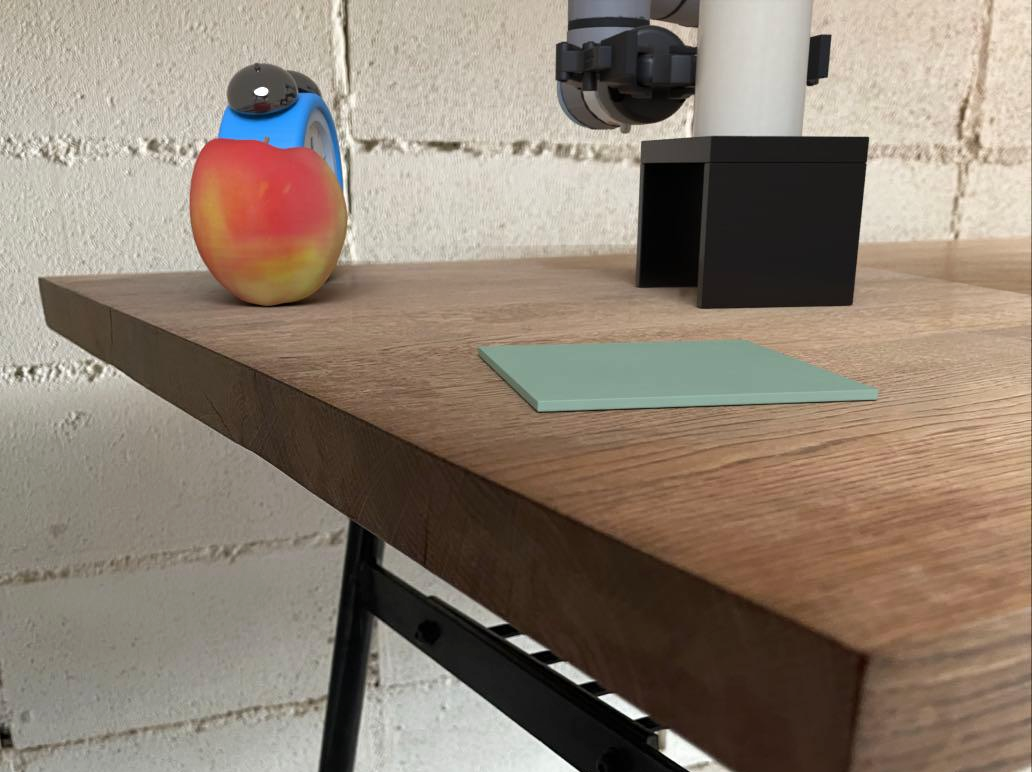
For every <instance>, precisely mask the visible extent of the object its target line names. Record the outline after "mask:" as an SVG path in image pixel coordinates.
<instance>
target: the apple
mask: <svg viewBox="0 0 1032 772" xmlns="http://www.w3.org/2000/svg"><path fill="white" fill-rule="evenodd" d="M269 139H270V138H269V137H266V136H265V139H264V142H262V141H258V140H236V139H227V138H218V137H217V138H213V139H210V140H209V141H207V143H205V144H204V145H203V147H202V148H201V150H200V151H199V153H198V155H197V158H196V160H195V163H194V166H193V170H192V175H191V179H190V187H189V203H188V204H189V206H188V207H189V208H188V209H189V220H190V227H191V233H192V236H193V241H194V244H195V247H196V249H197V252H198V254H199V256H200V258H201V260H202V262H203V264H204V265H205V267H206V269H208V271H209V272H210V274H211V275H212V276H213V278H214V279H215V280H216V281H217V282H218V283H219V284H220V285H221V286H222V287H223V288H224V289H225V290H226V291H228V292H229V293H230V294H231V295H233V296H234V297H236V298H238V299H239V300H241V301H244V302H246V303H249V304H253V305H259V306H264V307H271V306H276V305H282V304H288V303H289V304H290V303H295V302H298V301H302V300H304V299H306V298H308V297H309V296H311V295H313V294H314V293H315V292H317V291H318V290H319V289H320V288H321V287H323V285H324V284H325V283H326V281H327V280H328V279H329V277H330V276H331V275H332V273H333V271H334V269H335V267H336V265H337V264H338V261H339V258H340V256H341V253H342V251H343V248H344V245H345V241H346V237H347V231H348V217H349V216H348V208H347V202H346V198H345V195H344V191H343V192H342V189H341V186H340V184H339V182H338V180H337V178H336V176H335V174H334V173H333V171H332V169H331V168H330V167H329V165H328V164H327V162H326V161H325V160H324V159H323V158H322V157H321V156H320V155H319V154H318V153H317V152H315V151H314V150H312V149H310V148H306V147H292V148H286V149H284V148H277V147H275V146H272V145H270V144H268V142H269Z"/></svg>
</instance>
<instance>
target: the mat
mask: <svg viewBox="0 0 1032 772" xmlns="http://www.w3.org/2000/svg"><path fill="white" fill-rule="evenodd" d="M477 355H478V356H479V357H480V358H481V359H482V360H483V361H484V362H485V363H486V364H487V365H488V366H490V367H491V368H492V369H493V370H494V372H496V373H497V374H498V375H499V376H500V377H501V378H502V379H503V380H504V381H505V382H506V383H507V384H508V385H509V386H510V387H511V388H512V389H513V390H514V391H516V392H517V393H518V395H520V396H521V397H522V398H523V399H524V401H526V402H527V403H528V404H529V405H530V406H531V407H532V408H533V409H534V410H536V412H538V413H545V412H573V411H599V410H601V411H602V410H628V409H629V410H631V409H655V408H684V407H685V408H686V407H687V408H688V407H711V406H712V407H714V406H740V405H741V406H742V405H765V404H767V405H768V404H769V405H770V404H771V405H772V404H794V403H795V404H796V403H799V404H800V403H824V402H850V401H851V402H853V401H854V402H855V401H876V400H878V399H879V392H880V389H878V388H876V387H873V386H870V385H868V384H866V383H863V382H860V381H857V380H854V379H851V378H849V377H846V376H844V375H841V374H839V373H836V372H833V371H830V370H827V369H825V368H823V367H820V366H817V365H814V364H811V363H809V362H807V361H804V360H801V359H799V358H796V357H793V356H791V355H787V354H785V353H782V352H779V351H776V350H774V349H772V348H769V347H765V346H763V345H760V344H758V343H755V342H752V341H750V340H747V339H744V338H743V339H712V340H711V339H710V340H709V339H707V340H706V339H705V340H673V341H672V340H670V341H667V340H666V341H634V342H633V341H631V342H629V341H628V342H597V343H595V342H593V343H589V342H588V343H556V344H555V343H554V344H552V343H551V344H550V343H549V344H518V345H517V344H515V345H513V344H511V345H479V346H477Z"/></svg>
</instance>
